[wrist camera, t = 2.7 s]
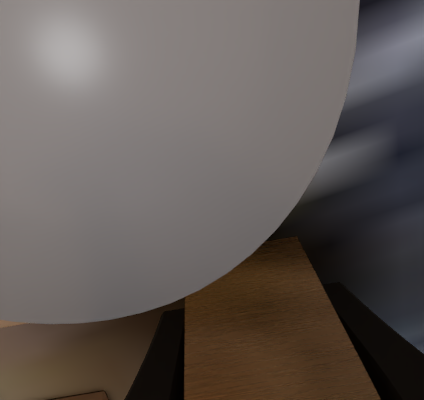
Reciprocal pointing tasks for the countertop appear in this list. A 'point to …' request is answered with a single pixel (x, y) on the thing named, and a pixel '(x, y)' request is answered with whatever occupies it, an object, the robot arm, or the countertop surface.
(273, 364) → the wooden block
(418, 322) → the countertop surface
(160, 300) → the door knob
